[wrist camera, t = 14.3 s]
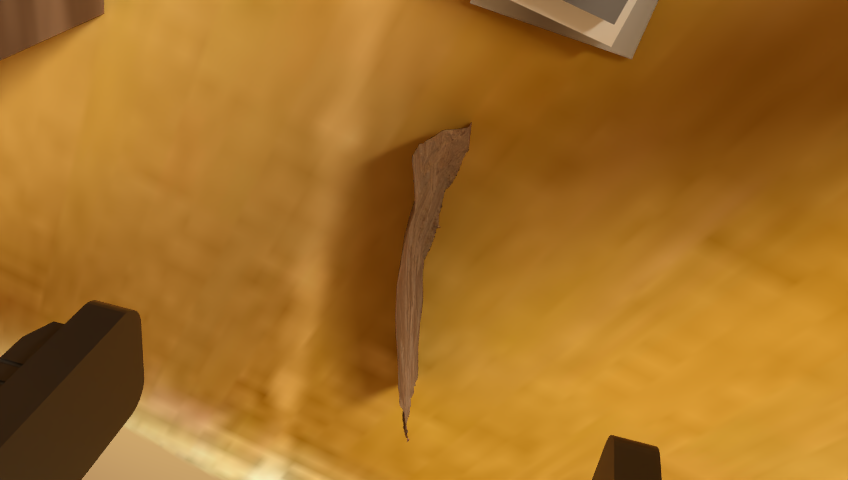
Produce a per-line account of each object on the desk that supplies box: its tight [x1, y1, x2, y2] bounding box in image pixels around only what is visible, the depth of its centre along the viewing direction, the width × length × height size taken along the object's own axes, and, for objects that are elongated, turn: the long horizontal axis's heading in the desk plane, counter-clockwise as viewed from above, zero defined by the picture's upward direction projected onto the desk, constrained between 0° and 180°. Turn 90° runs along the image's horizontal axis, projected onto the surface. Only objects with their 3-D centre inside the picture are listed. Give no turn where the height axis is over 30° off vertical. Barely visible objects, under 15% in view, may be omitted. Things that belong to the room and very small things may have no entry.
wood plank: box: [395, 122, 472, 442], centre depth 37 cm, size 15×2×5 cm, turn 176°
